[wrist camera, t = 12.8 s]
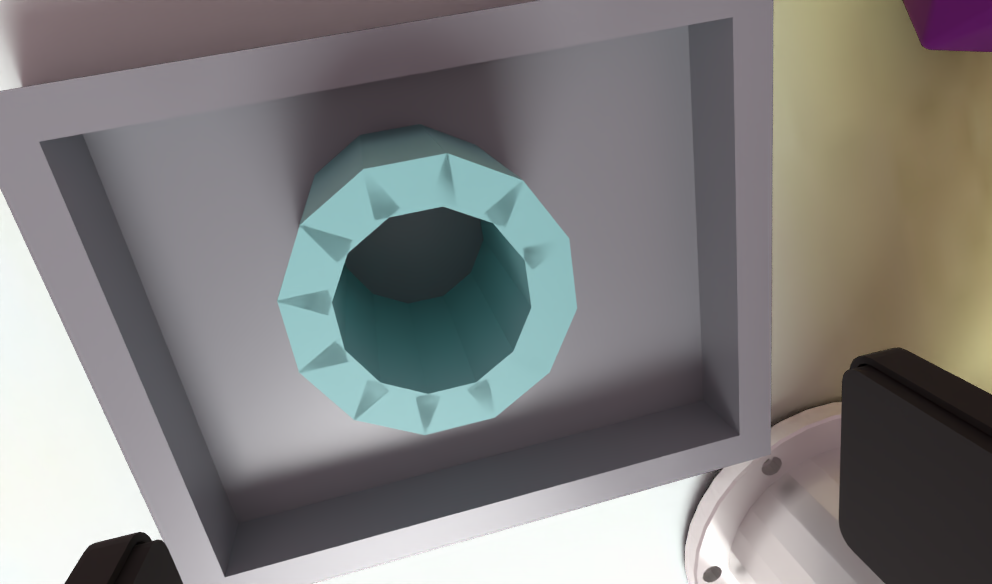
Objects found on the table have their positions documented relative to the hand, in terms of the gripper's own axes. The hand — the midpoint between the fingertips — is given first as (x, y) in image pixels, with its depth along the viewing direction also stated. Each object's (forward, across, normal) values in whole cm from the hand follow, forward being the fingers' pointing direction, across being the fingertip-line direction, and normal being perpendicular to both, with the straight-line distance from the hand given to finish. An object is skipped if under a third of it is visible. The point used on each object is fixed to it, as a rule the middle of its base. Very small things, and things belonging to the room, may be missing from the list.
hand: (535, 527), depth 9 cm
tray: (+13, 0, +1) cm, 13 cm away
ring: (+13, +1, -1) cm, 13 cm away
